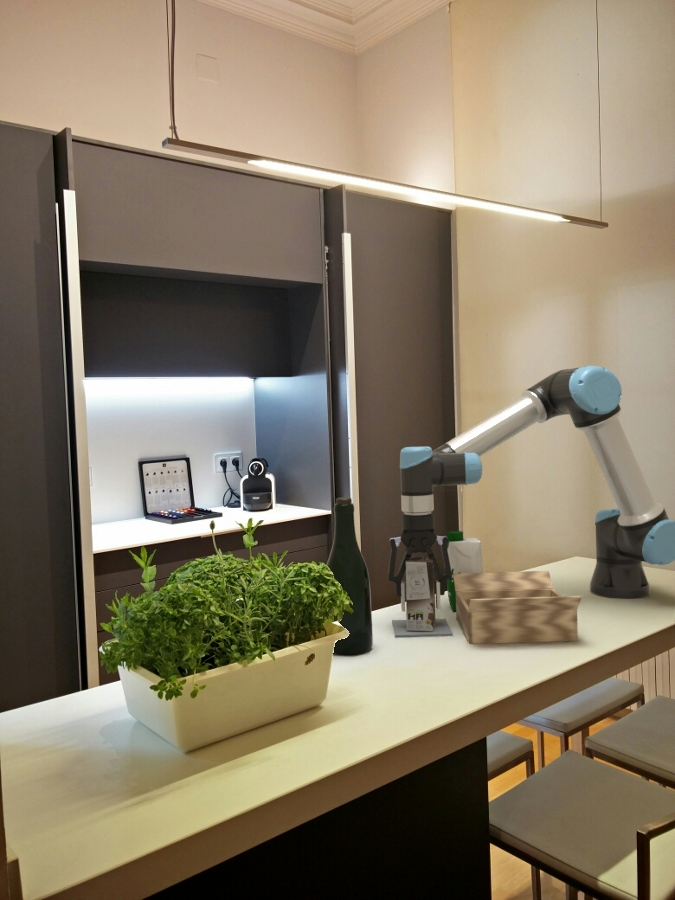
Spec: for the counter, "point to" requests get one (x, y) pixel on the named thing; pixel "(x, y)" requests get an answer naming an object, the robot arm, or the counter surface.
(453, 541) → the milk carton
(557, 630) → the wooden box frame
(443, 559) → the robot arm
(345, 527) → the dark green wine bottle
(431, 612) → the coffee box
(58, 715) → the counter surface
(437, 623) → the mat
